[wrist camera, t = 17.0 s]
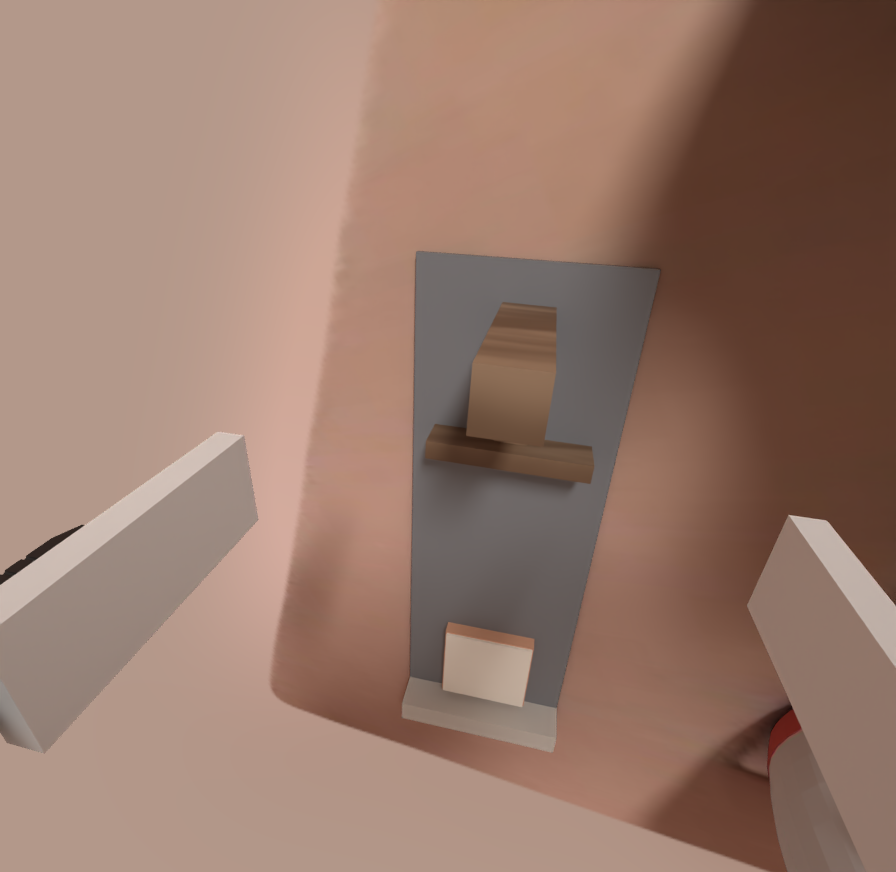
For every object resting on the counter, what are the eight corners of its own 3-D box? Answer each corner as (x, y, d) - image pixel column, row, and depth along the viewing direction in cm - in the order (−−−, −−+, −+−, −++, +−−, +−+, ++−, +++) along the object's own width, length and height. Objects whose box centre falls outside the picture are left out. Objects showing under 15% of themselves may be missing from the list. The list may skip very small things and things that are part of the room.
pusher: (442, 295, 28) (380, 351, 18) (622, 314, 26) (659, 385, 17) (434, 439, 32) (381, 546, 22) (588, 463, 31) (602, 588, 21)
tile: (448, 621, 39) (445, 633, 38) (534, 638, 38) (533, 651, 37) (444, 678, 43) (441, 690, 42) (523, 695, 42) (523, 708, 40)
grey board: (418, 251, 27) (403, 257, 25) (659, 268, 25) (671, 277, 23) (410, 687, 45) (401, 717, 42) (553, 718, 43) (552, 752, 40)
